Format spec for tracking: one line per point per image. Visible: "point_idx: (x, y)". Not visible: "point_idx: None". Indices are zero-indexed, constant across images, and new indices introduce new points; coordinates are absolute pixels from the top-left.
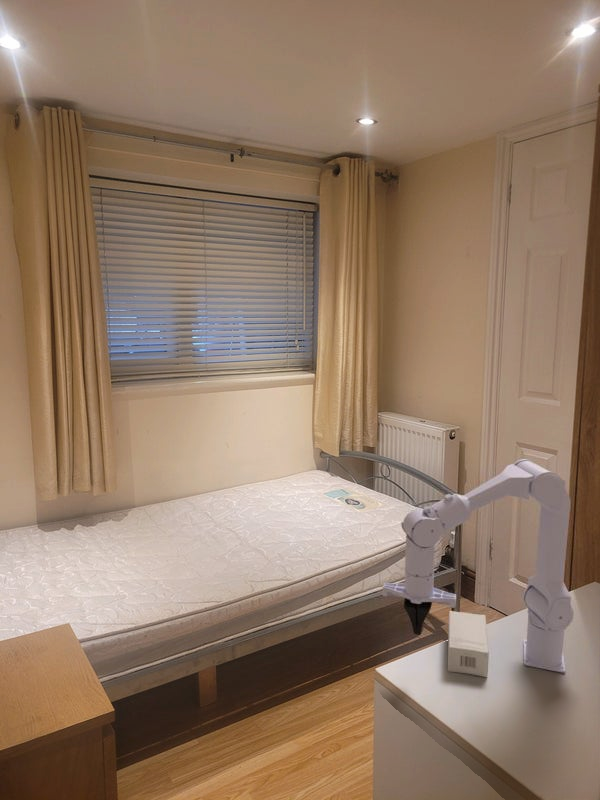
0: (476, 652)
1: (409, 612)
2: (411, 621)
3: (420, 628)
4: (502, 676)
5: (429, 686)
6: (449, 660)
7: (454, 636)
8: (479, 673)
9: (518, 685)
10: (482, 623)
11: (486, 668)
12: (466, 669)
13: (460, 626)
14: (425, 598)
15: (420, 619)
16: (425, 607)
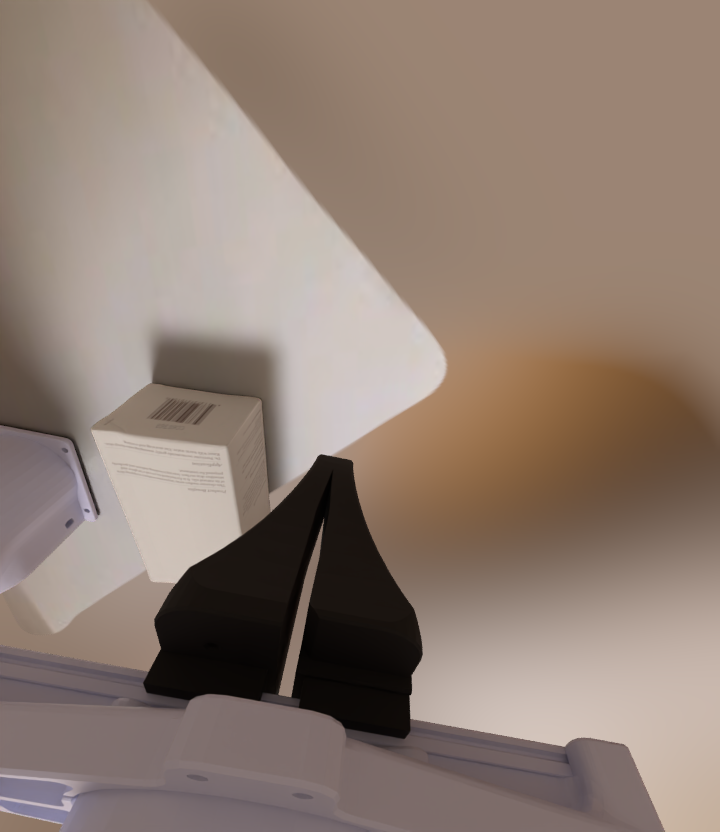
0: (133, 430)
1: (369, 571)
2: (359, 512)
3: (308, 476)
4: (114, 393)
5: (313, 322)
6: (244, 416)
7: (216, 497)
8: (166, 389)
9: (63, 360)
10: (148, 552)
11: (134, 396)
12: (201, 397)
13: (206, 538)
14: (120, 780)
15: (292, 520)
16: (199, 622)
